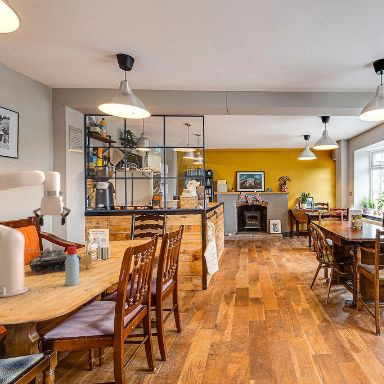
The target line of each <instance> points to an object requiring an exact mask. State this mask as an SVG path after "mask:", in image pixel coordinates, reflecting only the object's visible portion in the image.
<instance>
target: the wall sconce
mask: <svg viewBox="0 0 384 384" xmlns="http://www.w3.org/2000/svg"><path fill="white" fill-rule="evenodd" d="M85 237H86V238H87V241H86V248H85V249H86V250H83V251H81V252H80V253H81V254H83V255H82V257H81V259H80V262H81V263H80V265H82V266H84V267H85V266H86V269H88V270H89V269H90V268H91V265H92V263H93V257H92V254H95V253H98V250H97V249H90V250H89V245H90V237H91V235H90V231H89V230H86V232H85Z"/></svg>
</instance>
